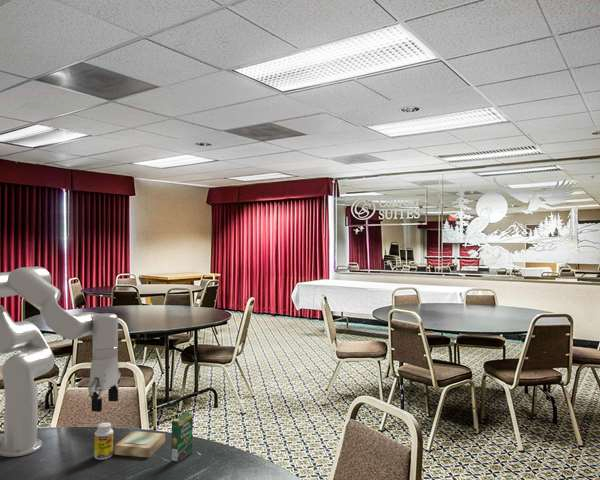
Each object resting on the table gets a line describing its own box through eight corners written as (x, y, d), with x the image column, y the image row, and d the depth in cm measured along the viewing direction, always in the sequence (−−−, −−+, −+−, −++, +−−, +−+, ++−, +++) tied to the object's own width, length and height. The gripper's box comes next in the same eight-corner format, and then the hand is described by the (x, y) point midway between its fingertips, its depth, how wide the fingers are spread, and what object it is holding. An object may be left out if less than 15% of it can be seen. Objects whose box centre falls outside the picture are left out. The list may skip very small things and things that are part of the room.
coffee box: (177, 463, 151) (178, 421, 151) (170, 461, 152) (171, 420, 153) (192, 453, 159) (193, 413, 159) (185, 451, 160) (186, 412, 160)
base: (114, 454, 157) (114, 444, 157) (132, 439, 169) (132, 430, 169) (149, 457, 155) (149, 447, 155) (165, 442, 167) (165, 433, 167)
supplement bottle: (95, 462, 151) (96, 429, 151) (92, 455, 156) (93, 423, 156) (114, 457, 154) (115, 425, 154) (110, 451, 159) (111, 420, 159)
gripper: (108, 346, 164) (108, 397, 164) (78, 358, 147) (78, 414, 147) (129, 347, 163) (129, 398, 163) (101, 359, 146) (101, 416, 146)
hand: (105, 406), depth 155 cm, fingers open, 9 cm apart
